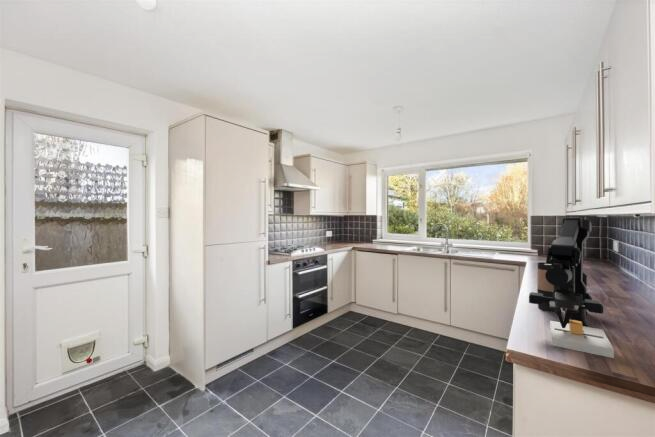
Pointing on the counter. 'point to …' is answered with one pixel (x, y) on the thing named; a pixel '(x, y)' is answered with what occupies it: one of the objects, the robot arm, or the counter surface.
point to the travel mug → (544, 285)
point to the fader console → (581, 340)
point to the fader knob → (576, 327)
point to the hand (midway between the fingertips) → (563, 327)
